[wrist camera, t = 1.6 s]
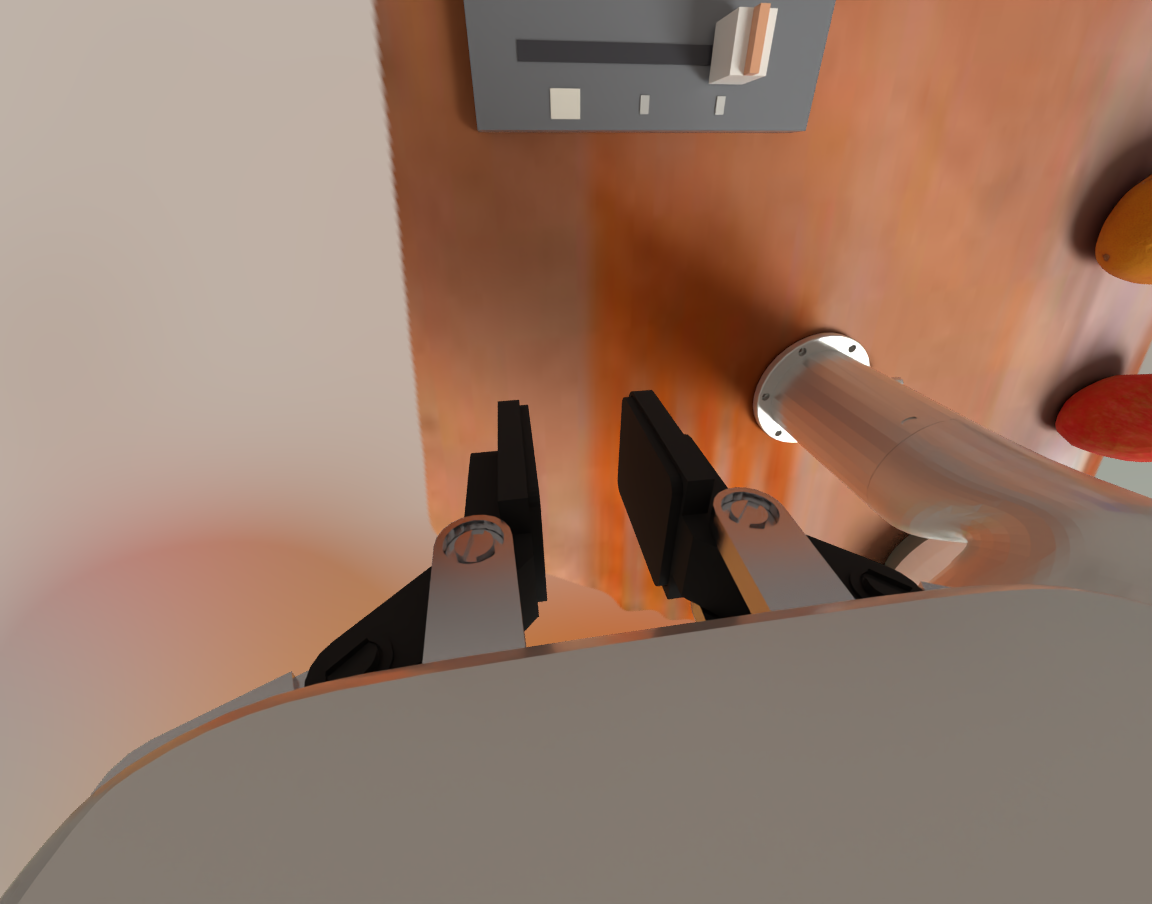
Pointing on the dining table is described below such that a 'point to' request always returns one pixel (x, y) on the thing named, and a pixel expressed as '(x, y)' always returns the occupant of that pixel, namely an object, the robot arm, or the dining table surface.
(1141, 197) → the fruit
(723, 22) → the fader
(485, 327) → the dining table surface
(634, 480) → the robot arm
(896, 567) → the bowl
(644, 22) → the console
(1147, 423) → the apple
